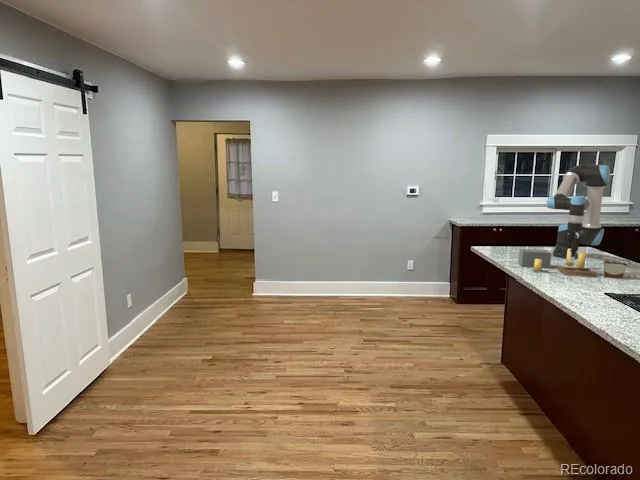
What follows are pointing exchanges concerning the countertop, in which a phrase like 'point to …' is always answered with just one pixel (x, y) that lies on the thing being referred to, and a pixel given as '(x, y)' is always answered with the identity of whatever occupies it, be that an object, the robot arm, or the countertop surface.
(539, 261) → the grey and yellow fixture
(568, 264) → the peg
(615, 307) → the countertop surface
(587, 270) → the socket board
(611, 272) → the food container
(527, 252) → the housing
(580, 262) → the peg
